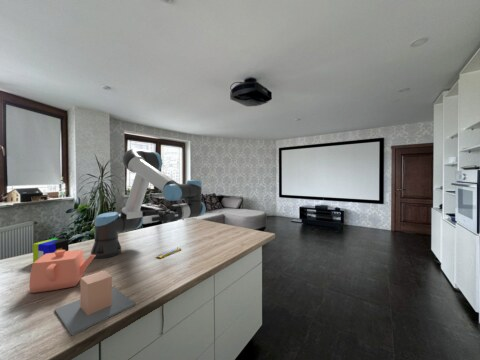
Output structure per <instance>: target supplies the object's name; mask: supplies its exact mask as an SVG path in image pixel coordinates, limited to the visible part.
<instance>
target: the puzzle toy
mask: <svg viewBox="0 0 480 360" xmlns="http://www.w3.org/2000/svg"><path fill="white" fill-rule="evenodd" d="M32 246H33V247H32V264H33V263H34V262H35V261H36V260H38V259H39V258H40V257H42V256H43V255H45V254H47V253H54V252H55V251H58V250H65V251H69V239H64V238H50V239H47V240H42V241H39V242H35V243H33V244H32Z"/></svg>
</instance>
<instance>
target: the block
mask: <svg viewBox="0 0 480 360" xmlns="http://www.w3.org/2000/svg"><path fill="white" fill-rule="evenodd" d="M112 287H113V276H112V275H111V274H109V273H108V272H107V271H105V270H101V271H98V272H95V273H93V274H89V275H85V276H82V277H81V280H80V291H79V292H80V293H79V295H80V299H79V300H80V307H81V308H82V309H83V311H84V312H85V313H86V314H87V315H90V314H92V313H95V312H97V311H99V310H101V309H104V308H106V307H108V306H111V305H112Z"/></svg>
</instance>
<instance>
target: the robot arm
mask: <svg viewBox="0 0 480 360" xmlns="http://www.w3.org/2000/svg"><path fill="white" fill-rule="evenodd" d="M121 160H122V164H123V166H124V167H125V168H126V169H127V170H128V171H129V172H130V173H134V174H135V176H134V179H133V182H132V185H131V188H130V191H129V195H128V198H127V200H126V203H125V206H124V207H122V209H121V211H120V212H117V211H110V212H104V213H101V214H98V215H97V216H96V217H95V219H94V242H93V245H92V248H91V250H90V255H96V256H95V257H94V258H93V259H107V258H111V257H115V256H117V255H118V256H119V255H120V254H121V253H122V246H121V243H120V240H119V234H120V233H124V232H130V231H134V230H137V229H139V228H140V227H141V226H142V225H147V224H152V223H157V222H164V223H166V222H169V221H172V222H173V221H174V222H175V221H178V220H182V221H184V220H185V219H191V218H197V217H202V216H203V215H204V214H205V213H206V211H207V209H206V208H207V207H206V204H205V203H204V202H202V189H203V187H202V181H201V180H200V179H199V180H198V179H197V180H195V179H194V180H193V179H192V180H191V179H188V180H187V181H186V183H178V182H177V181H176V180H173V179H172V178H171V177H170V176H168V175H166V173H163V172H162V171H160V170H161V169H162V167H163V159H162V156H161V155H160V154H159V153H158V152H157V151H156V152H155V151H153V150H145V149H138V148H131V149H128V150H126V152H124V153H123V156H122V159H121ZM149 184H151V185H152V186H154V187H155V188H157V189H158V190H159V191H161V192H162V196H163V197H164V200H166V201H170V202H171V201H173V202H175V201H176V202H177V201H181V200H182V201H183V200H186V203H178V204H171V205H169V206H168V208H159V209H141V208H142V205H143V202H144V198H145V195H146V193H147V189H148V188H149Z"/></svg>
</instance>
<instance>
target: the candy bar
mask: <svg viewBox="0 0 480 360" xmlns="http://www.w3.org/2000/svg"><path fill="white" fill-rule="evenodd" d="M180 251H182V248H180V247H175V248H174V249H171V250H168V251H165V252H163V253H160V254H158V255H157V257H158V258H160V259H162V258H165V257H168V256H170V255H173V254H175V253H177V252H180Z"/></svg>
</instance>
